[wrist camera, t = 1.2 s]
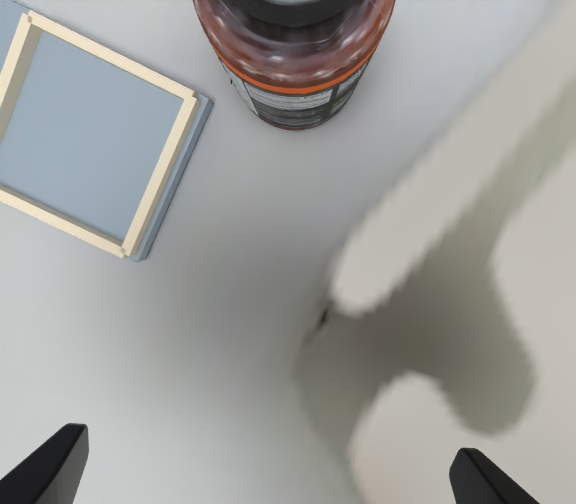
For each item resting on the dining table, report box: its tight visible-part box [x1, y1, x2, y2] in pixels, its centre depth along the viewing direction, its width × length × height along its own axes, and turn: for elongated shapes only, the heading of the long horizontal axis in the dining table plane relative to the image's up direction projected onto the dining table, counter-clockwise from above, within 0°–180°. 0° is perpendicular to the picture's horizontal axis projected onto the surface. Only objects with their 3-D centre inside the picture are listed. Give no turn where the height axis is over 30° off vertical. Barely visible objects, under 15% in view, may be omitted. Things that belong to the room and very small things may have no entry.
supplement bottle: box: [193, 0, 396, 130], centre depth 14 cm, size 6×6×11 cm
